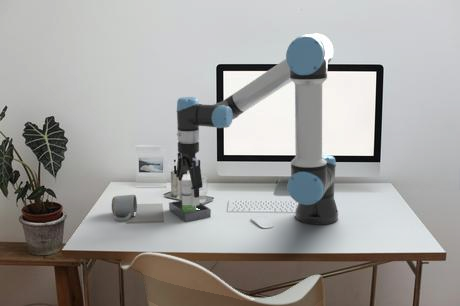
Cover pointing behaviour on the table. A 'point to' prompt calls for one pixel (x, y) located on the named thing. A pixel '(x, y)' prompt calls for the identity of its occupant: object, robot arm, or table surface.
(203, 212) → the tray
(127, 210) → the ceramic mug
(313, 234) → the table surface
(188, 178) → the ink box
